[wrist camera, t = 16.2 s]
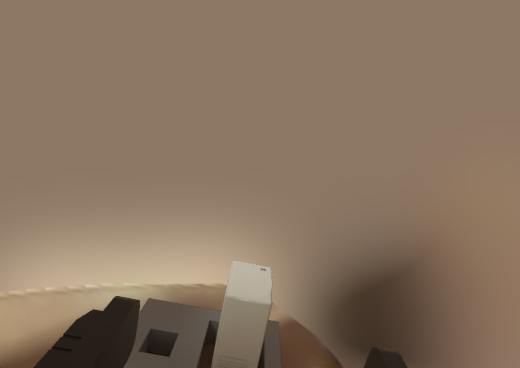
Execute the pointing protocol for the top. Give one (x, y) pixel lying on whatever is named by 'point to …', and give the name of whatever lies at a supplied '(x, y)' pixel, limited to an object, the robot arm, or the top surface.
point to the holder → (186, 337)
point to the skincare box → (243, 316)
